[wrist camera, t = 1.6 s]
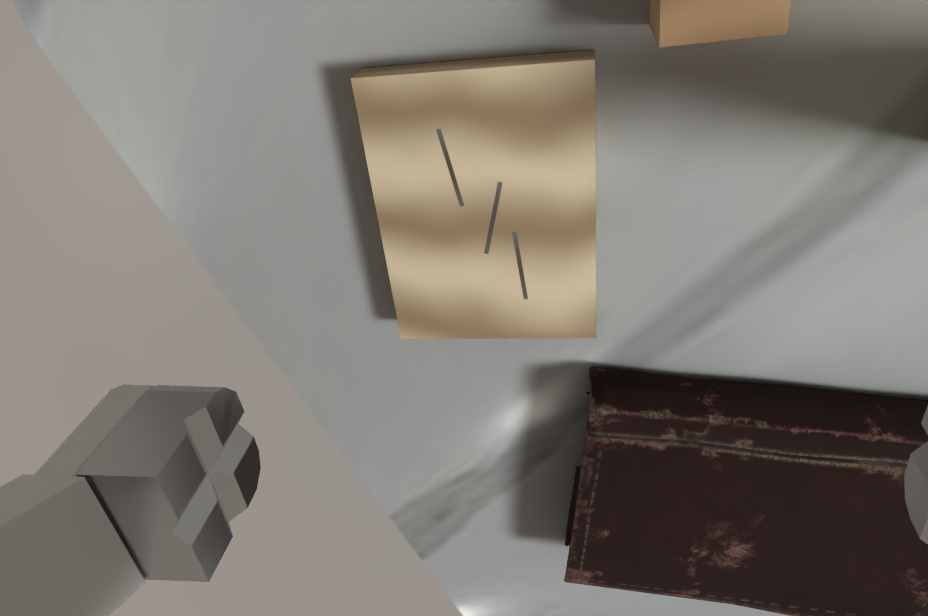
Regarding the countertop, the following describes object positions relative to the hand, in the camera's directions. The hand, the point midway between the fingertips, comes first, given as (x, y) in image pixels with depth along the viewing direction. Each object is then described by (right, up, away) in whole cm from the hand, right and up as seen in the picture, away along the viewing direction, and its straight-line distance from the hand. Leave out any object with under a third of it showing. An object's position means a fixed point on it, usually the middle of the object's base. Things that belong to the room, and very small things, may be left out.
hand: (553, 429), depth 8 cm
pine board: (0, +7, +30) cm, 31 cm away
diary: (+19, -10, +40) cm, 45 cm away
